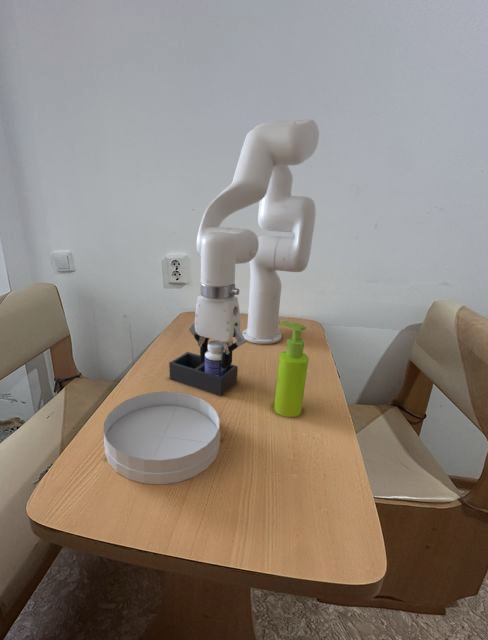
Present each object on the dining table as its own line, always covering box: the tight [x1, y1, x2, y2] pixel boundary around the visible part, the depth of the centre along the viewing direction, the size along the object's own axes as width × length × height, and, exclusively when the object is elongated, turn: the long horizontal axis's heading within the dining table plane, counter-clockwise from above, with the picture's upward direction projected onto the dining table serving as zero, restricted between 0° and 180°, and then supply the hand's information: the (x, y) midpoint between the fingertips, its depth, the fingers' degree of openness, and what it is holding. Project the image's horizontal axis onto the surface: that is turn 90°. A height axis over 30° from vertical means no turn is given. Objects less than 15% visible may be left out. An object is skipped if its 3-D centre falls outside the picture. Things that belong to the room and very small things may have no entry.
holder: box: [168, 351, 239, 397], centre depth 94 cm, size 8×15×5 cm, turn 56°
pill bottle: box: [205, 340, 226, 377], centre depth 90 cm, size 5×5×9 cm
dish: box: [103, 391, 221, 486], centre depth 71 cm, size 22×22×5 cm
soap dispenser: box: [273, 320, 310, 418], centre depth 79 cm, size 6×7×20 cm
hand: (215, 362), depth 90 cm, fingers closed on pill bottle, 5 cm apart
